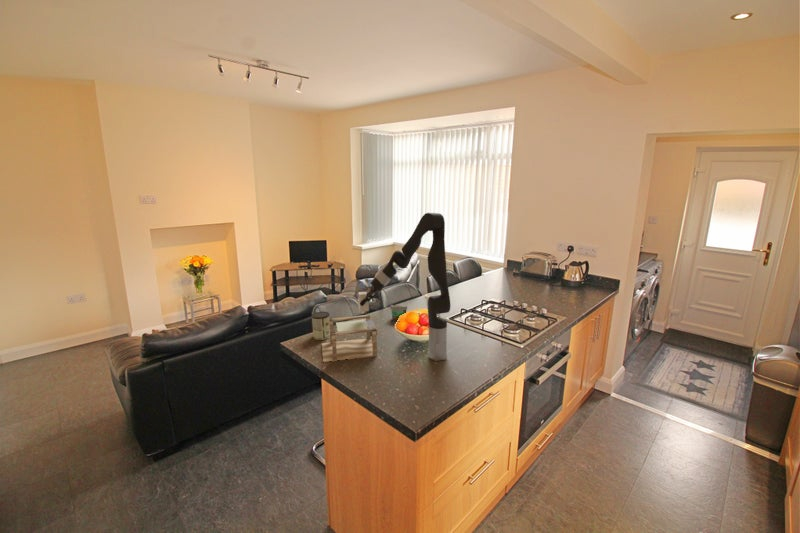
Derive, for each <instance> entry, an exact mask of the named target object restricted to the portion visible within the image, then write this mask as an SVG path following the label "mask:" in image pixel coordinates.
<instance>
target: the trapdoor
mask: <svg viewBox="0 0 800 533" xmlns="http://www.w3.org/2000/svg"><path fill="white" fill-rule="evenodd" d="M335 325H336V332H341V331H351V330H360V329H370V328H376V336H378V329H377V327H376V325H375V322H374V320H373V319H370V320H366V318H360V319H352V320H344V321H339V322H338V321H336V322H335ZM368 333H369V335H370V336H371V337H372V332H368Z"/></svg>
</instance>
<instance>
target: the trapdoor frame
mask: <svg viewBox="0 0 800 533" xmlns="http://www.w3.org/2000/svg"><path fill="white" fill-rule="evenodd" d="M363 318H365V320H371V316H370V314H365V315H363V314H362V315H354V316H351V315H350V316H344V317H342V316H341V317H333V318H329V325H330V337H329V339H330V342H323V343H322V342H321V351H322V352H321V353H322V354H321V355H322V363H323V362H324V363H329V361H332V362H338V361H337V360H340V361H346V360H345V359H348V360H354V359H355V358H356V359H362V358H363V359H364V358H370V357H377V356H378V345H377V335H376V329H377V327H376V328H370V329H360V330H351V331H341V332H338V331H334V330H335V329H334V322H338V321H339V322H341V321H351V320H361V319H363ZM368 332H372V336H370V335H369V333H368ZM362 333H363V334H364V333H366V337H365V338H356V339H347V340H341V341H339V340H338V341H337V336H341V335H343V336H344V335H352V334H362Z"/></svg>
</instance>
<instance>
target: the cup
mask: <svg viewBox="0 0 800 533" xmlns="http://www.w3.org/2000/svg"><path fill="white" fill-rule="evenodd" d="M437 295H441V292H429V293H426V294H424V298H425V300H426V307H427V308H426V309H427V310H428V299H429V297H430V296H437ZM437 316H438V317H440V318H441V314H437Z"/></svg>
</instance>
